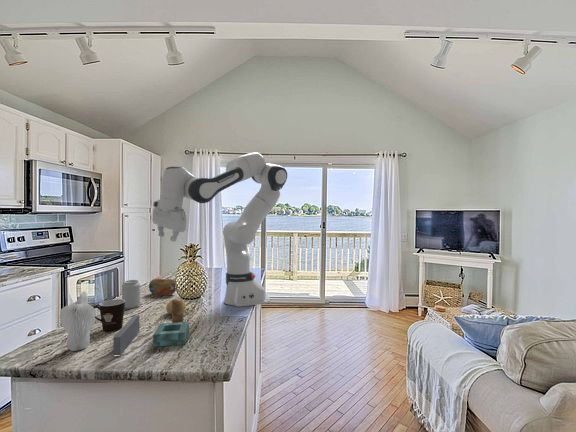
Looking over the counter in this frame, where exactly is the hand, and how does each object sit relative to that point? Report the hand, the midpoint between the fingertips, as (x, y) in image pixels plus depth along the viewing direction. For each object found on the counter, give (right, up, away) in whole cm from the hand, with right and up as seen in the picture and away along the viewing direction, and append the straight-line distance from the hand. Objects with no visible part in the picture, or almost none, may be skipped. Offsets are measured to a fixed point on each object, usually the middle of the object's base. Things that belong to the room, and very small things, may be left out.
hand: (167, 238), depth 128 cm
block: (+10, -34, -20) cm, 40 cm away
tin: (-16, -32, +36) cm, 51 cm away
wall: (-4, -34, -23) cm, 41 cm away
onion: (+1, -33, +7) cm, 34 cm away
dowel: (+7, -33, -8) cm, 35 cm away
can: (-22, -33, +15) cm, 43 cm away
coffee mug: (-18, -34, -10) cm, 39 cm away
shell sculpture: (-18, -34, -27) cm, 47 cm away
